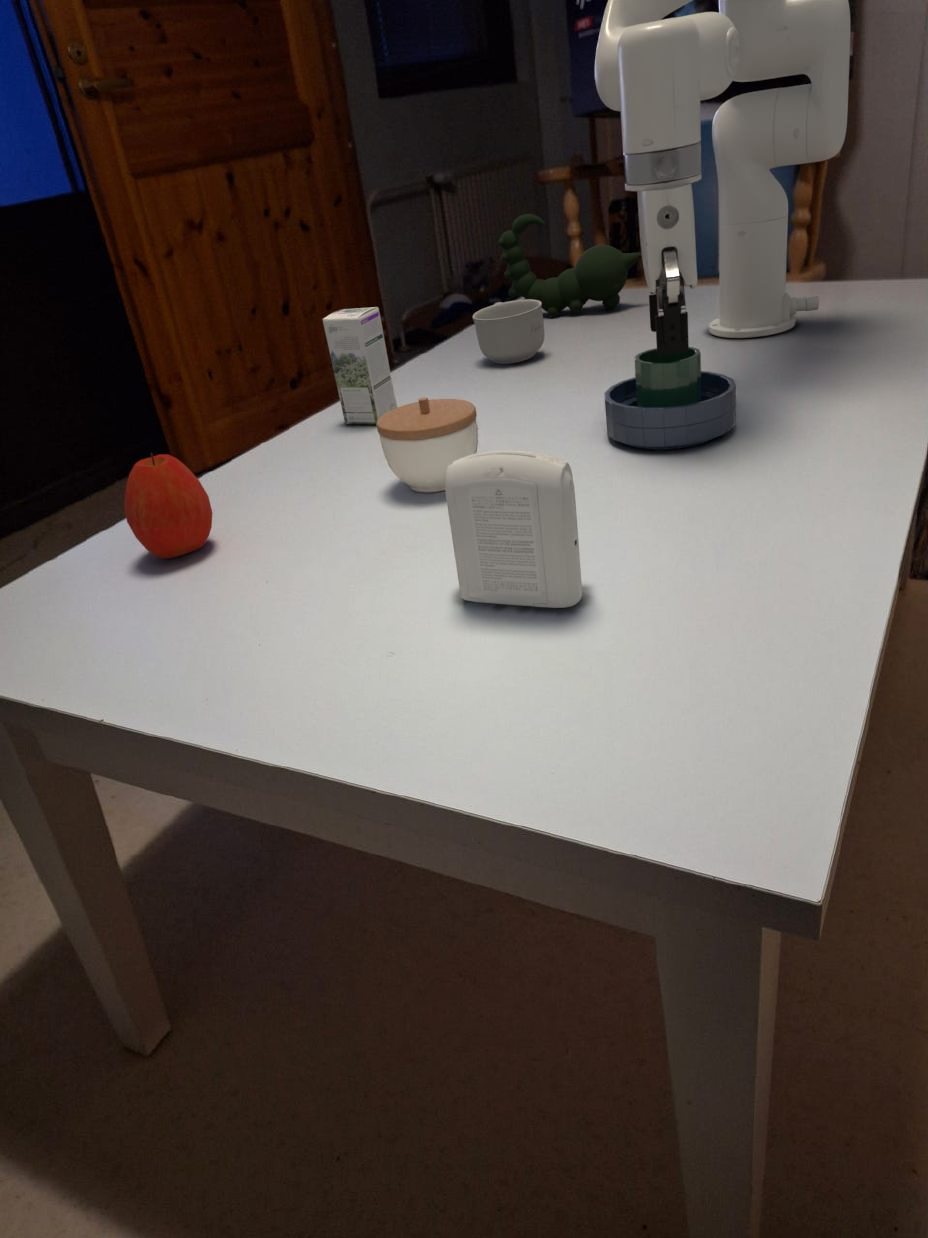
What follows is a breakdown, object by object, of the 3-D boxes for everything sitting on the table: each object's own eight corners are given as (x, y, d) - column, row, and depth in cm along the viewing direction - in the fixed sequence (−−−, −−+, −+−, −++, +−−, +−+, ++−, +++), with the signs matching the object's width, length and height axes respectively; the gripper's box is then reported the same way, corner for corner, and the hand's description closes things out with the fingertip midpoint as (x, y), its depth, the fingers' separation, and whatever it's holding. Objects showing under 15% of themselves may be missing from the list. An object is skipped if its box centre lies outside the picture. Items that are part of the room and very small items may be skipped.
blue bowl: (725, 406, 107) (725, 364, 105) (744, 446, 95) (744, 400, 93) (605, 418, 110) (603, 378, 107) (609, 459, 98) (606, 414, 95)
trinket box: (497, 463, 102) (486, 381, 97) (466, 501, 93) (453, 413, 88) (410, 465, 105) (396, 385, 101) (373, 501, 97) (356, 416, 92)
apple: (178, 574, 87) (143, 470, 82) (124, 564, 91) (87, 464, 86) (238, 539, 93) (209, 440, 88) (184, 530, 97) (153, 435, 92)
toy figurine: (511, 333, 166) (647, 307, 158) (489, 224, 158) (632, 191, 150) (521, 321, 174) (651, 296, 166) (500, 217, 165) (637, 185, 157)
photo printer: (589, 587, 73) (577, 441, 67) (575, 613, 70) (562, 462, 64) (473, 581, 77) (451, 443, 71) (454, 605, 74) (430, 462, 68)
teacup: (548, 362, 137) (543, 308, 133) (478, 372, 138) (471, 319, 134) (543, 342, 149) (538, 292, 145) (479, 351, 150) (472, 301, 146)
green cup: (697, 412, 105) (696, 343, 101) (704, 431, 99) (703, 358, 95) (636, 418, 106) (633, 350, 102) (639, 438, 100) (636, 366, 96)
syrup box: (399, 411, 125) (380, 304, 118) (378, 425, 121) (357, 315, 114) (364, 411, 128) (344, 306, 121) (343, 425, 123) (320, 317, 116)
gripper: (712, 170, 81) (714, 358, 90) (691, 154, 96) (695, 317, 105) (628, 183, 83) (638, 367, 91) (620, 165, 97) (630, 325, 106)
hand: (668, 340), depth 98 cm, fingers open, 9 cm apart
